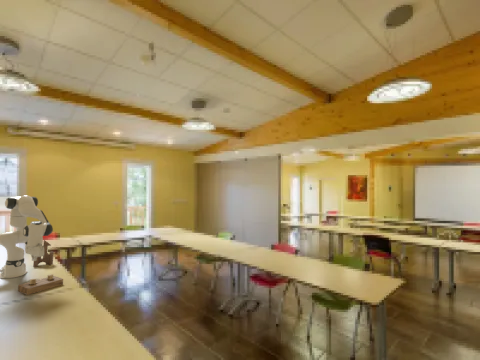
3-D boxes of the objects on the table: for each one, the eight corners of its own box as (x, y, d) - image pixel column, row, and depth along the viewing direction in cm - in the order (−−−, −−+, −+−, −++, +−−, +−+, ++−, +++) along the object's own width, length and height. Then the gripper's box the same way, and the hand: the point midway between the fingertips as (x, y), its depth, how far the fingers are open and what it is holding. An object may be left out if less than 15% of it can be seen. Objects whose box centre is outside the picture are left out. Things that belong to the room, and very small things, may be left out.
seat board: (18, 291, 189) (18, 285, 189) (53, 281, 210) (53, 275, 211) (27, 294, 183) (28, 288, 183) (62, 284, 204) (63, 278, 204)
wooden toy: (33, 267, 244) (34, 241, 245) (33, 265, 249) (34, 240, 250) (52, 264, 254) (54, 240, 255) (52, 263, 259) (54, 239, 260)
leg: (34, 288, 194) (34, 278, 194) (36, 289, 192) (37, 279, 192) (28, 290, 190) (29, 279, 191) (30, 291, 189) (31, 280, 189)
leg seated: (46, 285, 201) (46, 275, 201) (51, 283, 204) (51, 274, 205) (48, 286, 199) (49, 276, 200) (53, 284, 203) (54, 274, 203)
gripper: (47, 243, 191) (46, 261, 190) (33, 240, 200) (32, 257, 199) (37, 245, 185) (36, 264, 185) (23, 241, 194) (22, 259, 194)
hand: (34, 260), depth 192 cm, fingers closed
